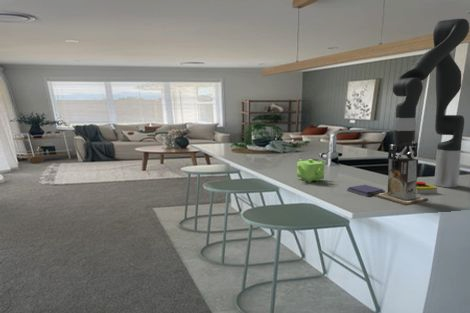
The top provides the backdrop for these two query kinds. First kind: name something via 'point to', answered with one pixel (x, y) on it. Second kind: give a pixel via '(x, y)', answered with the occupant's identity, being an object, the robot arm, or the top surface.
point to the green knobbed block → (310, 170)
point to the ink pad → (365, 190)
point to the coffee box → (403, 179)
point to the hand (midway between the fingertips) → (402, 168)
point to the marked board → (399, 200)
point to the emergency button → (425, 189)
